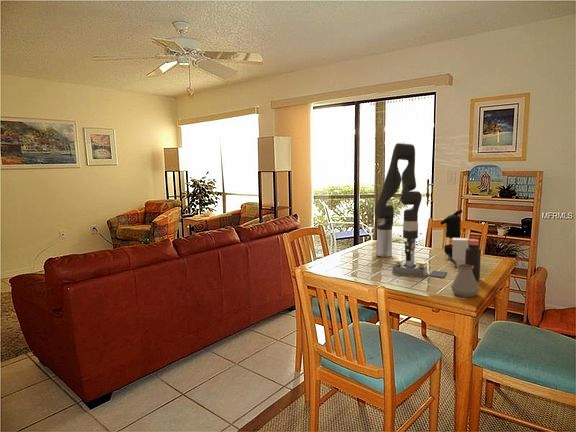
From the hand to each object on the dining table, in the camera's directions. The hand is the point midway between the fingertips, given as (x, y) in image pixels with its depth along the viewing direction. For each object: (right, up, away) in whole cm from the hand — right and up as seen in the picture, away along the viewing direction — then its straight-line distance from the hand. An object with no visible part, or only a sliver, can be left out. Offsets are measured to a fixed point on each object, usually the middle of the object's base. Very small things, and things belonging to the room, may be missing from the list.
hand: (410, 259), depth 200 cm
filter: (+34, -3, +29) cm, 44 cm away
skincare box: (+32, -5, +12) cm, 35 cm away
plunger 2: (+5, -6, -2) cm, 8 cm away
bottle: (+27, -9, -12) cm, 31 cm away
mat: (+14, -8, -3) cm, 16 cm away
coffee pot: (+13, -11, -28) cm, 33 cm away
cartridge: (0, -8, +1) cm, 8 cm away
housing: (0, -7, +1) cm, 8 cm away
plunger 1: (-5, -5, +4) cm, 8 cm away
